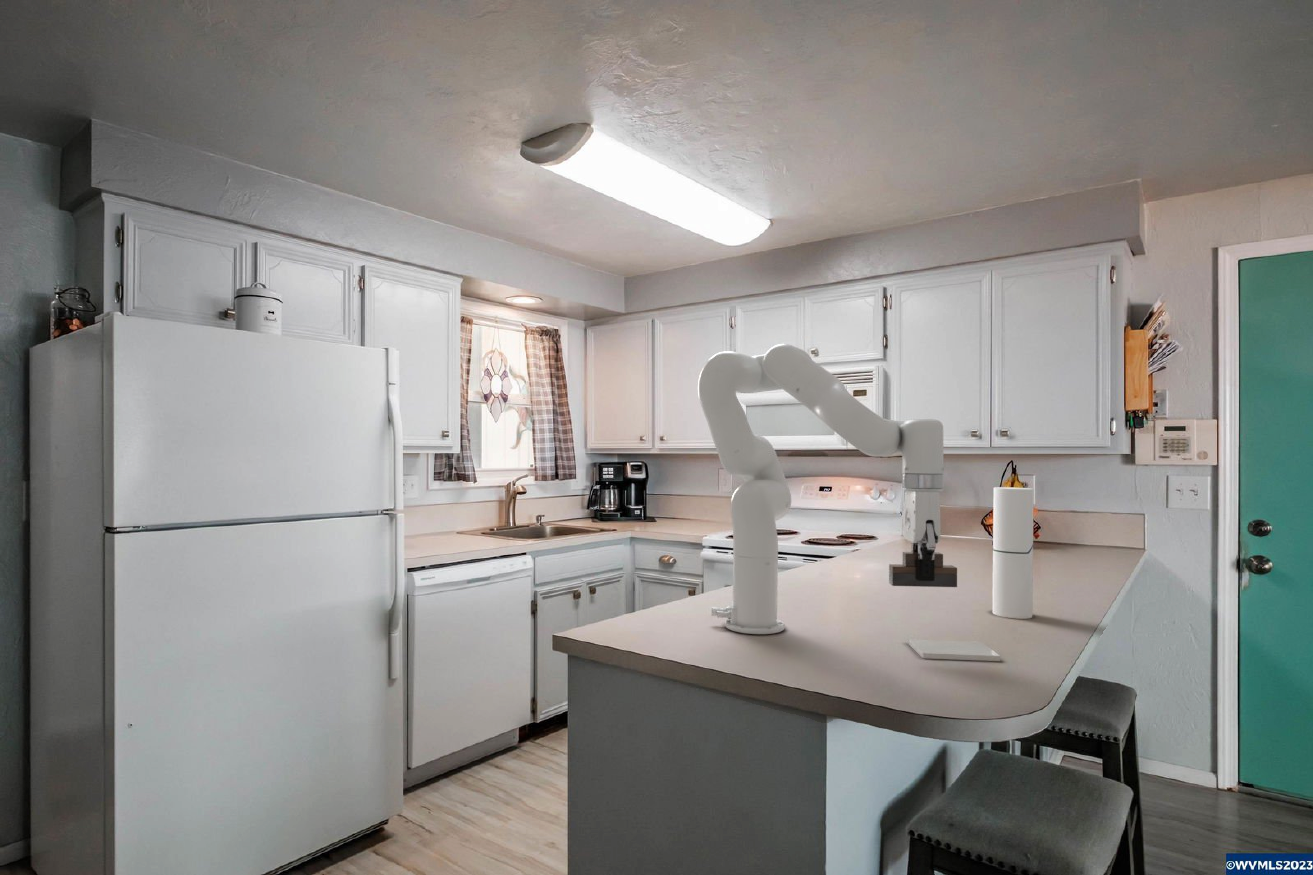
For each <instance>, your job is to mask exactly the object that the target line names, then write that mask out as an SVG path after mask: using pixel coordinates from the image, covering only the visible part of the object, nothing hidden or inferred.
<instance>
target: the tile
mask: <svg viewBox="0 0 1313 875" xmlns="http://www.w3.org/2000/svg"><path fill="white" fill-rule="evenodd" d="M908 645H909V646H910V647H911V649H913V650H914V652H916V653H917V654H918V655H919V657H921V658H922V659H925V660H926V659H929V660H951V661H955V660H956V661H977V662H978V661H980V662H1001V660H1002V659H1001V655H1000V654H998V653H997V652H996V651H994V650H993V649H992V648H990V647H989V646H987V644H985V643H983V642H982V641H970V640H969V641H967V640H942V639H941V640H939V639H936V640H935V639H914V638H913V639H912V638H911V639H910V638H909V639H908Z"/></svg>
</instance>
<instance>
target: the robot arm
mask: <svg viewBox="0 0 1313 875" xmlns="http://www.w3.org/2000/svg"><path fill="white" fill-rule="evenodd" d="M781 390H783V391H785V392H786V393H787V394H788V395H790V396H791V397H793V398H794V399H795V400H797V401H798V402H799V403H801V405H803V406H804V407H805V408H807V409H808V410H809V411H811V412H812V413H813V414H814V415H815V416H816V417H817V418H818V419H819V420H821V421H822V422H823V423H824V424H825V425H826V426H828V427H829V428H830V429H831V430H832V431H833V432H835V433H836V434H837V435H839V437H841V438H842V439H843V440H845V441H846V442H847V443H849V444H850V445H851V446H853V447H854V448H856V449H857V450H858V451H859V452H861V453H863V454H864V455H866V456H869V457H873V458H875V457H876V458H877V457H879V458H888V457H895V456H901V457H902V458H901V462H902V463H901V464H902V465H901V470H902V471H901V490H902V491H904V498H903V499H904V500H903V509H902V510H903V512H902V514H903V515H902V537H903V539H904V540H906V541H908V542H910V544H911V545H910V546H911V547H910V552H918V559H916V578H917V580H918V581H934V559H935V551H936V548H937V544H938V543H939V542H941V532H942V531H941V530H942V522H941V520H942V519H941V500H940V492H944V425H943V423H942V422H941V421H940V420H938V419H935V418H934V419H933V418H931V419H930V418H917V419H916V418H915V419H907V420H905V421H901V420H893V419H888V418H883V417H881V416H880V415H878V414H877V413H875V412H874V411H873V410H871V409H870V408H868V407H867V406H866V405H864V403H862V402H860V401H859V400H858V399H857V398H855V396H853V395H852V394H851V393H850V392H849V391H848V390H847V388H846V386H845V385H844V383H843V382H842V380H840V379H839V378H838V377H837V376H835V375H834V374H833V373H831V372H830V371H829V370H827V369H826V368H824V367H822V366H821V365H820V364H818V362H816V361H814V360H813V359H812V357H811V355H810V354H808V352H807V351H805V350H803V349H801V348H799V347H798V346H794V345H792V344H788V343H778V344H775V345H773V346H771V347H770V348H769V349H768V350H767V351H766V353H765V354H759V355H747V354H743V353H741V352H738V351H732V350H725V351H720V352H717V353H716V354H714V355H712V356H710V358H709V359H708V360H707V361H706V362H705V364H704V365H703V367H702V369H701V371H700V374H699V377H698V381H697V395H698V399H699V403H700V406H701V408H702V411H703V415H704V417H705V420H706V422H707V426H708V429H709V432H710V435H711V438H712V441H713V444H714V448H715V449H716V453H717V455H718V458H719V461H720V463H721V466H722V468H723V470H724V471H725V473H727V474H729V475H730V476H733V477H737V478H738V477H741V478H742V480H743V483H741V484H740V485H739V486H738V487H737V488H736V489H735V490H734V492H733V493H732V496H731V499H730V517H731V524H732V536H733V537H732V539H733V540H732V541H733V544H732V553H733V554H732V560H733V562H732V602H731V603H730V605H729V606H728V605H726V607H719V606H711V617H716V618H718V619H719V618H720V619H723V618H724V619H725V621H724V626H725V628H726V629H728V630H729V631H732V632H736V633H739V634H740V633H741V634H746V635H747V634H748V635H773V634H778V633H781V632H782V631H784V630H785V623H784V621H782V620H780V619H778V581H779V580H778V579H779V578H778V575H779V573H778V572H779V567H778V566H779V539H778V531H777V525H776V521H780V520H781V519H783V518H785V516H786V515H787V514H788V513H789V512H790V509H791V506H792V494H791V490H790V487H789V484H788V481H787V478H786V476H785V473H784V471H783V468H782V464H781V463H780V460H779V457H778V454H777V452H776V449H775V448H774V447H773V445H772V443H771V442H770V441H769V440H768V439H767V438H765V437H764V436H762V435H760V434H756V433H753V430H752V429H751V426H750V424H749V421H748V418H747V415H746V412H745V410H744V407H743V406H742V404H741V403H740V401H739V398H738V397H737V393H740V394H755V393H756V394H757V393H765V392H771V391H781Z"/></svg>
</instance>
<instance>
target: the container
mask: <svg viewBox="0 0 1313 875" xmlns="http://www.w3.org/2000/svg"><path fill="white" fill-rule="evenodd" d="M1034 491H1035V490H1034V488H1030V487H1015V486H1014V487H1012V486H1011V487H1010V486H1005V487H1004V486H995V487H993V498H992V499H993V503H992V504H993V505H992V506H993V508H992V510H993V512H992V514H993V516H992V518H993V519H992V522H993V523H992V610H991V611H992V614H993V615H995V616H998V617H1002V618H1009V619H1016V620H1017V619H1018V620H1019V619H1021V620H1023V619H1024V620H1026V619H1031V618H1033V608H1034V607H1033V602H1034V601H1033V598H1034V597H1033V595H1034V594H1033V591H1034Z"/></svg>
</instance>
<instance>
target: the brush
mask: <svg viewBox="0 0 1313 875" xmlns="http://www.w3.org/2000/svg"><path fill="white" fill-rule="evenodd" d="M934 552H935V551H934ZM916 559H918V552H911V551H902V563H901V564H900V563H899V564H898V563H894V564H893V563H892V564H891V563H889V564H888V584H890V585H891V586H892V587H921V588H923V587H924V588H925V587H926V588H927V587H928V588H958V567H956V566H955V565H951V564H950V565H949V564H948V565H947V564H944V554H943V553H941V552H938V551H937V552H935V559H934V581H918V580H917V578H916Z"/></svg>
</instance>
